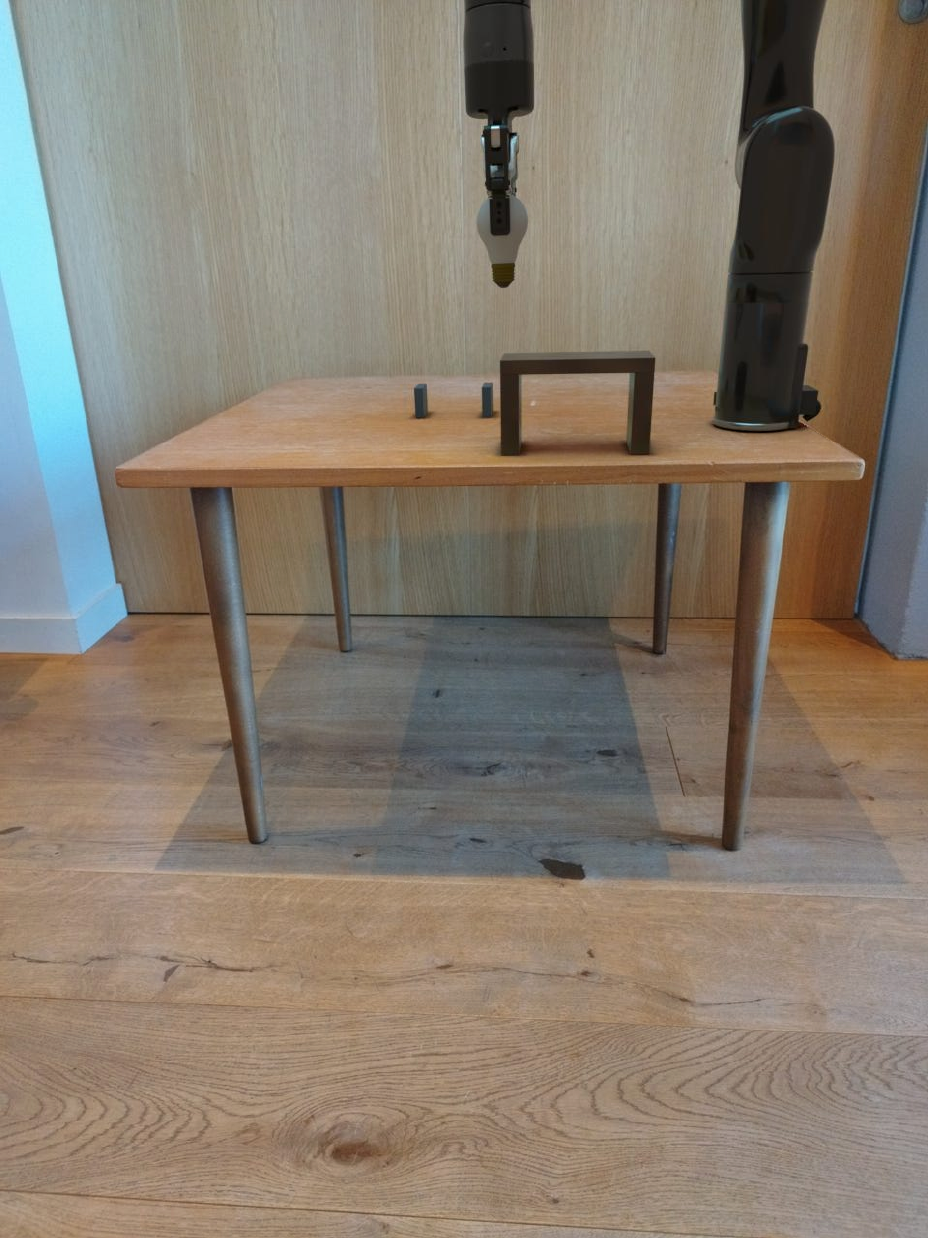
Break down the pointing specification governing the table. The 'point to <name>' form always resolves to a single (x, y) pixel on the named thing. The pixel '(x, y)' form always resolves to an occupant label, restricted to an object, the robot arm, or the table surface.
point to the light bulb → (503, 240)
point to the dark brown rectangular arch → (578, 363)
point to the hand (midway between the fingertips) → (502, 235)
